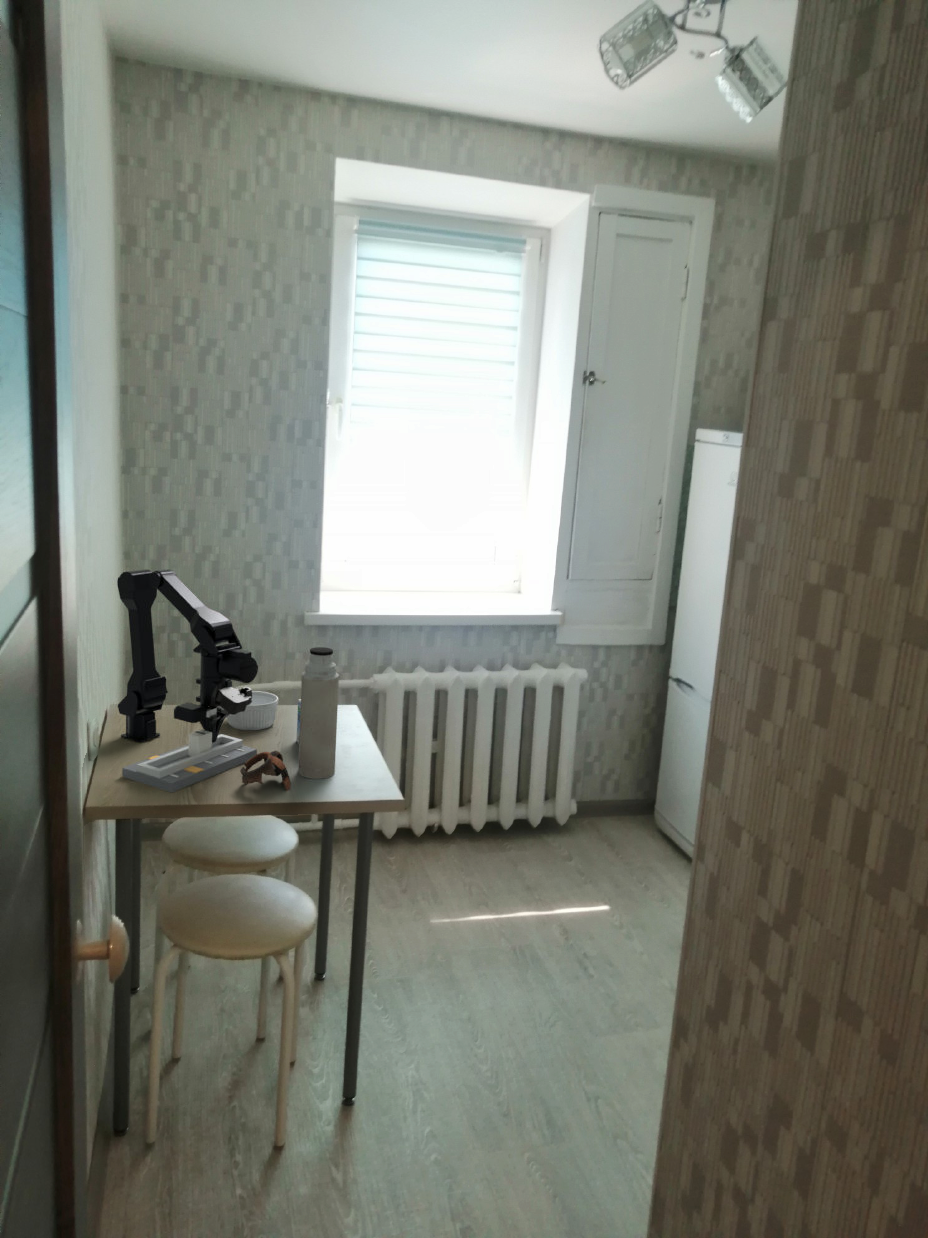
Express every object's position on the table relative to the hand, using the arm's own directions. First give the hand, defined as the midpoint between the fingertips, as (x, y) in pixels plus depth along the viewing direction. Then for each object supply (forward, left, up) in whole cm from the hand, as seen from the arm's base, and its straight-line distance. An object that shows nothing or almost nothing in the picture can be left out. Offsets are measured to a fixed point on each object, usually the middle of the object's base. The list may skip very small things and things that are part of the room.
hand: (212, 742), depth 205 cm
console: (0, -6, -4) cm, 7 cm away
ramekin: (-10, +25, -4) cm, 27 cm away
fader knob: (0, -4, -2) cm, 4 cm away
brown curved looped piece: (+19, -4, -4) cm, 20 cm away
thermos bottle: (+23, +8, -4) cm, 25 cm away
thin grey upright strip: (+13, +21, -4) cm, 25 cm away
